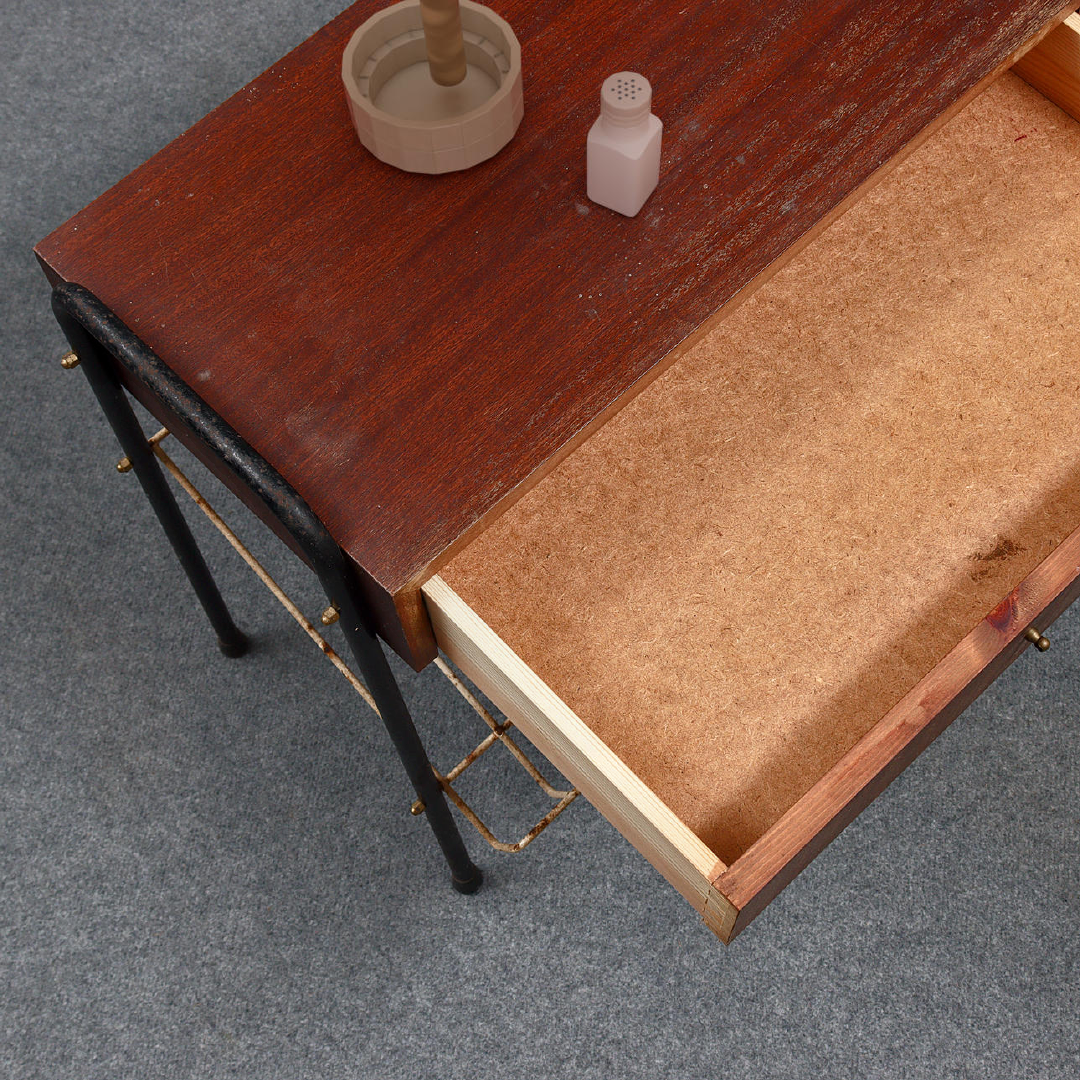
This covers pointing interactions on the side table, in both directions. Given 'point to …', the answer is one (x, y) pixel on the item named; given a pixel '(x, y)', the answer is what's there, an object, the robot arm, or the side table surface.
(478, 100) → the bowl
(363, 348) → the side table surface
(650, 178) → the salt shaker
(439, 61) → the stirring stick
